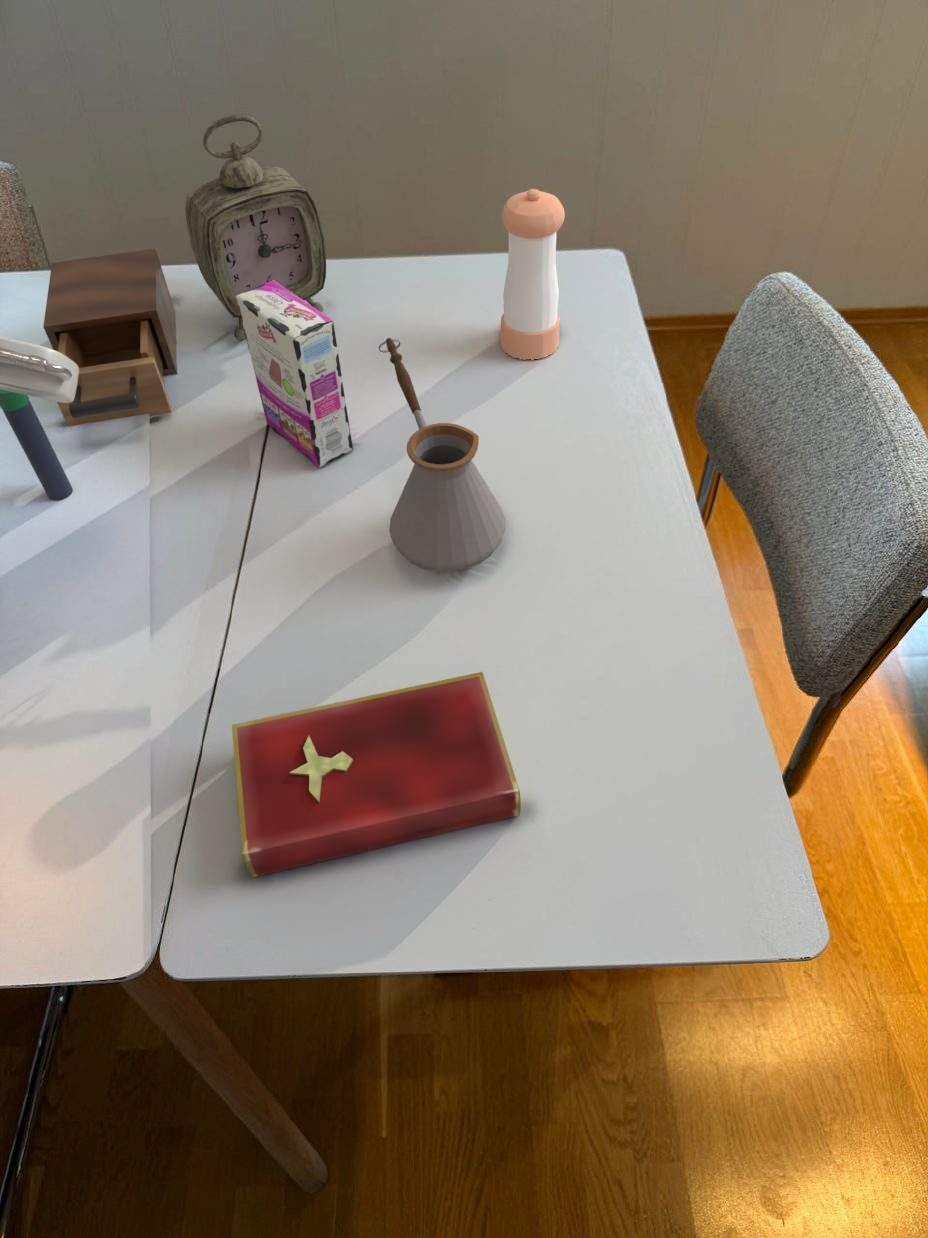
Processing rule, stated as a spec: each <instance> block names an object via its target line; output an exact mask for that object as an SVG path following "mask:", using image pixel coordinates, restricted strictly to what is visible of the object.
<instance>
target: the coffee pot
mask: <svg viewBox="0 0 928 1238" xmlns="http://www.w3.org/2000/svg"><path fill="white" fill-rule="evenodd" d="M395 342H398V344H397V345H396V344H395ZM385 344H386V348H387V349H386V350H384V349H381V347H382V346H384V345H385ZM401 345H402V344H401V341H400V340H399V339H395V338H393V339H392V337H387V338H386V339H385V341H383V342H381V343H380V344H379V345H378V347H377V348H378V351H379V352H380V353H389V354H390V357H389V361H390V363H391V364H393V365H394V371H395V374H396V380H397V382H398V385H399V387H400V390H401V391H402V394H403V395H404V398H405V400H406V402H407V404H408V407H409V409H410V411H411V413H412V415H413V416H414V420H415V422H416V425H417V428H418V430H416V431H415V432H414V433H412V434H411V436H410V437H409V439H408V441H407V443H406V453H407V456H408V458H409V459H410V460H411V462H412V463H413V467H412V469H411V471H410V474H409V476H408V478H407V480H406V483H405V485H404V487H403V490H402V492H401V493H400V496H399V499H398V501H397V503H396V505H395V507H394V510H393V512H392V514H391V516H390V521H389V528H388V532H389V535H390V538H391V542H392V544H393V546H394V547H395V548H396V550H397V551H398V553H399V554H400V555H401V556H402V558H404V559H405V560H407V561H408V562H409V563H411V564H412V565H414V566H416V567H418V568H421V569H423V570H427V571H430V572H437V573H442V574H443V573H449V574H450V573H451V574H452V573H458V572H463V571H466V570H469V569H471V568H474V567H475V566H478V565H481V564H482V563H483V562H484V561H487V559H489V558H490V557H491V556H492V555H493V553H494V552H495V551H496V550H497V549H498V547H499V546H500V544H501V543H502V540H503V537H504V536H505V532H506V517H505V514H504V511H503V509H502V506H501V505H500V504H499V502H498V500H497V498H496V497H495V495H494V494H493V492H492V491H491V488H490V487H489V486H488V483H486V481H485V479H484V478H483V476H482V474H481V472H480V471H479V468H478V467H477V465H475V462H473V459H474V458H475V456H476V454H477V451H478V448H479V444H480V442H479V441H480V436H479V434H477V433H475V432H474V431H473V430H470V429H468V428H467V427H464V426H462V425H459V424H457V423H450V422H438V423H432V424H428V425H427V423H426V420H425V418H424V416H423V413H422V409H421V407H420V402H419V399H418V397H417V394H416V391H415V387H414V385H413V381H412V378H411V376H410V373H409V372H408V371H407V369H406V367H405V365H404V363H403V361H402V360H403V355H402V354H400V353H399V352H398V351H397V349H399V348H400V347H401Z"/></svg>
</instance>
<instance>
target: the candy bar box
mask: <svg viewBox="0 0 928 1238" xmlns="http://www.w3.org/2000/svg"><path fill="white" fill-rule="evenodd" d="M236 298H237V302H238V306H239V310H240V314H241V317H242V322H243V329H244V331H245V335H246V339H245V340H246V343H247V347H248V351H249V355H250V359H251V363H252V367H253V372H254V376H255V380H256V385H257V389H258V393H259V397H260V401H261V405H262V409H263V413H264V417H265V422H266V424H267V425H268V426H269V427H270V428H271V429H273V430H274V432H276V433H277V434H279V436H281V437H282V438H283V439H285V441H287V442H289V444H291V445H292V446H293V447H294V448H295V449H297V450H298V451H299V452H300V453H301V454H302V455H304V456H305V457H306V458H307V459H308V460H309V461H311V462H312V463H313V464H314V465H316V466H317V467H318V469H319V468H320V469H321V468H323V467H326V466H327V465H329V464H331V463H332V462H335V461H336V460H338V459H339V460H340V458H342V457H344V456H346V455H348V454H349V453H352V452H353V451H354V445H353V440H352V439H353V438H352V432H351V428H350V427H351V426H350V420H349V414H348V408H347V402H346V395H345V390H344V383H343V374H342V369H341V368H342V367H341V363H340V362H341V361H340V355H339V349H338V341H337V337H336V336H337V335H336V331H335V324H334V323H335V322H334V320H333V319H332V318H331V317H329V316H328V315H326V314H325V313H323V312H320V311H319V310H317V309H316V308H314V307H313V306H311V305H310V304H309V303H308V302H307V301H306V300H305V301H304V300H302V299H301V298H299V297H298V296H296V295H295V294H293V293H292V292H290V291H289V290H287V289H286V288H284V287H283V286H281V285H280V284H279V283H277V282H276V281H274V280H272V281H269V282H267V283H264V284H262V285H260V286H257V287H255V288H253V289H251V290H249V291H246V292H243V293H241V294H239V295H237V296H236Z"/></svg>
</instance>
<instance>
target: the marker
mask: <svg viewBox="0 0 928 1238" xmlns="http://www.w3.org/2000/svg"><path fill="white" fill-rule="evenodd" d="M0 409H1V410H2V412H3V414H4V416H5V418H6V420H7V422H8V423H9V425H10V427H11V429H12V431H13V433H14V435H15V437H16V438H17V440H18V443H19V444H20V446H21V448H22V450H23V452H24V454H25V456H26V458H27V460H28V461H29V463H30V465H31V467H32V469H33V471H34V473H35V475H36V477H37V478H38V481H39V482H40V485H41V486H42V488H43V490H44V492H45V494H46V496H47V497H48V499H49V500H50V501H53V502H54V501H55V502H58V501H64V500H66V499H67V498H69V497H70V496H71V495H72V494H73V491H74V489H73V486H72V484H71V482H70V480H69V478H68V475H66V472H65V470H64V468H63V466H62V463H61V461H60V460H59V458H58V456H57V453H56V452H55V450H54V447H53V446H52V443H51V441H50V439H49V437H48V436H47V433H46V431H45V429H44V427H43V425H42V422H41V421H40V419H39V417H38V415H37V413H36V411H35V409H34V407H33V405H32V403H31V401H30V398H29V395H24V394H19V393H15V392H10V391H5V390H1V389H0Z"/></svg>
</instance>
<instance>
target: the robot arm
mask: <svg viewBox="0 0 928 1238" xmlns="http://www.w3.org/2000/svg"><path fill="white" fill-rule="evenodd" d="M78 376H79V367H78V365H77V364H76V363H75V362H74V361H72V360H71V359H70V358H68V357H67V356H65V355H64V354H62V353H60V352H58V351H56V350H53V348H50V347H47V346H43V345H41V344H36V343H32V342H28V341H24V340H19V339H15V338H11V337H6V336H2V335H0V389H1V390H5V391H10V392H15V393H19V394H24V395H27V396H28V397H33V398H38V399H43V400H46V401H47V400H48V401H52V402H56V403H57V402H63V403H70V402H73V400H74V398H75V394H76V389H77V383H78Z"/></svg>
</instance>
